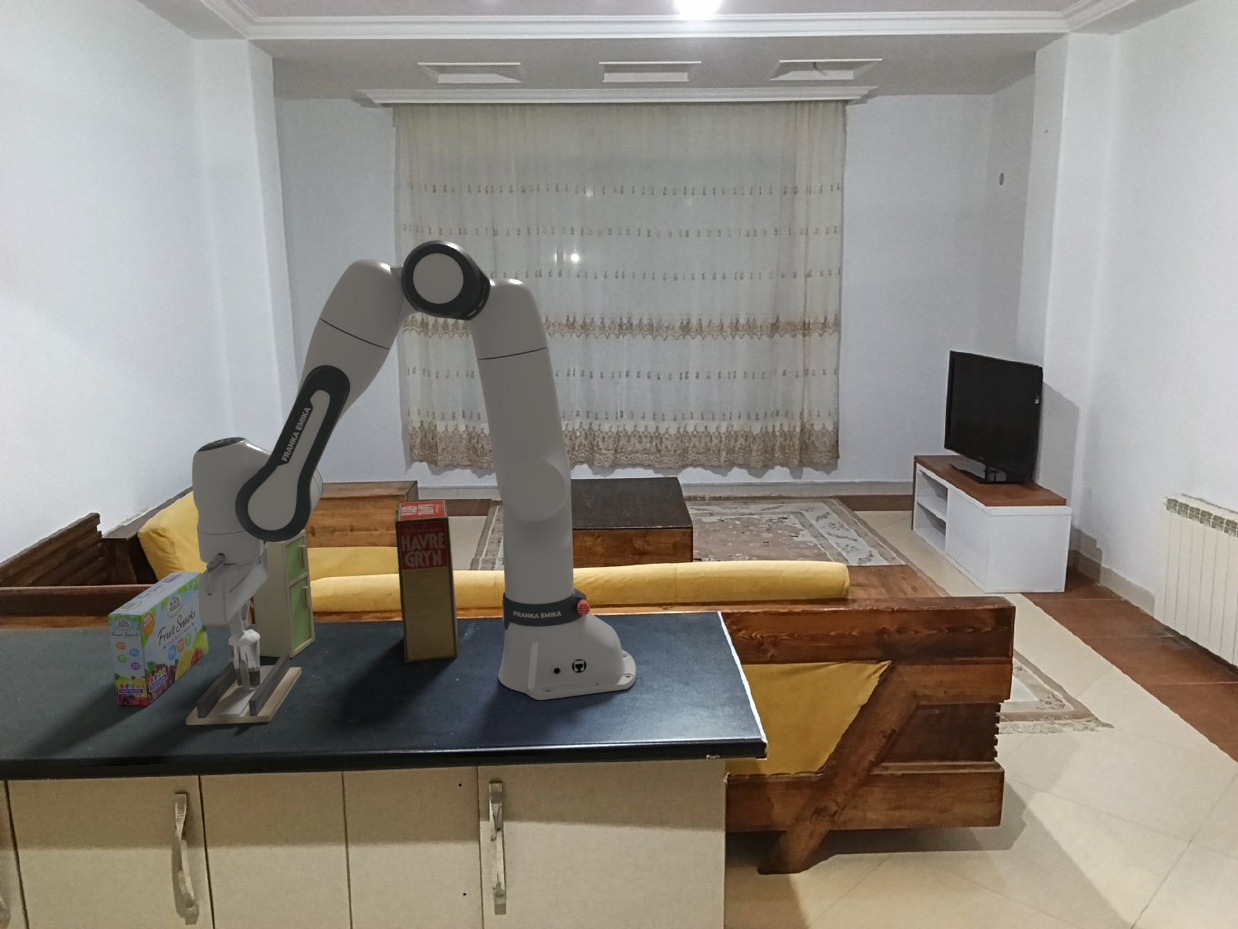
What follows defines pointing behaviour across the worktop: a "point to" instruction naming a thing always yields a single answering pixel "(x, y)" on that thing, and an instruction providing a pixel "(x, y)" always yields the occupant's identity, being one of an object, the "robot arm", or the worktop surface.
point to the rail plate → (245, 696)
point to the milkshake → (246, 659)
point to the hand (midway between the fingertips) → (239, 631)
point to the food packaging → (426, 580)
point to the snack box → (156, 638)
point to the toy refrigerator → (285, 600)
